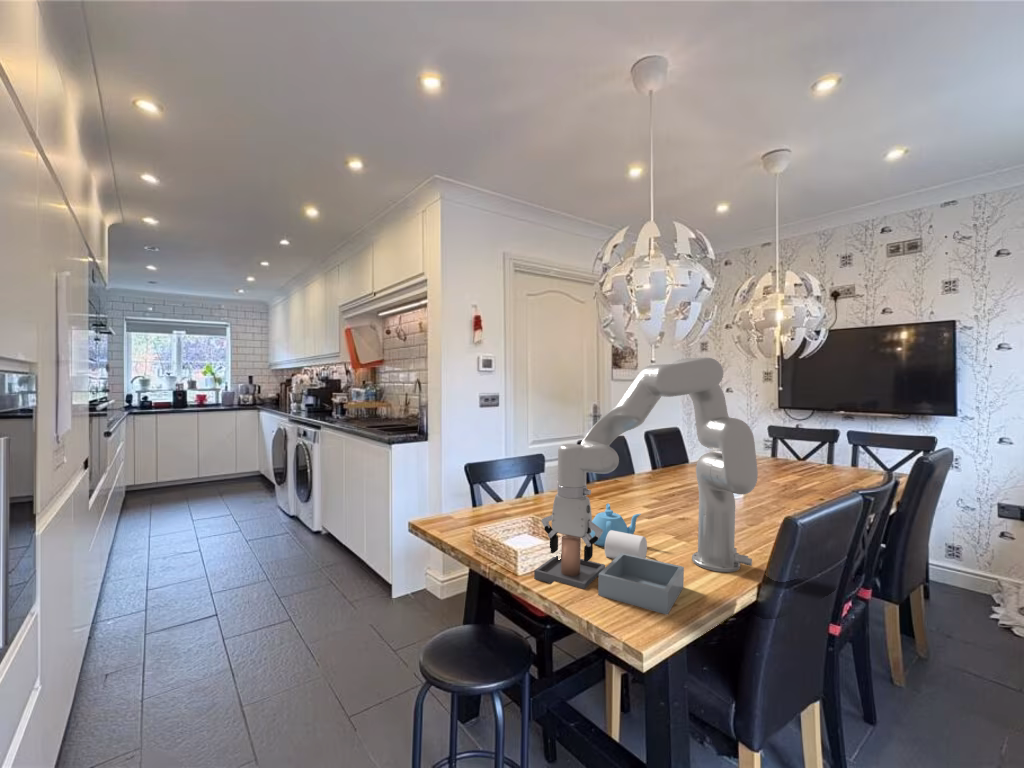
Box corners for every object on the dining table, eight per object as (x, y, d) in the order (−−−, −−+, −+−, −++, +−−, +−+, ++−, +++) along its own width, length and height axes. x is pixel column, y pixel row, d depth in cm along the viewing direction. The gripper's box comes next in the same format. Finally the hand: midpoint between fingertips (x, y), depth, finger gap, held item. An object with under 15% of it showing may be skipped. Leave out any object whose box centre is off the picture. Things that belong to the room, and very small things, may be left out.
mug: (638, 570, 125) (639, 541, 124) (604, 562, 130) (604, 534, 130) (650, 556, 135) (651, 529, 135) (618, 549, 140) (618, 523, 140)
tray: (605, 572, 122) (605, 564, 122) (584, 593, 111) (584, 584, 111) (558, 560, 130) (558, 553, 130) (534, 578, 118) (534, 570, 118)
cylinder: (583, 570, 121) (583, 537, 121) (575, 577, 117) (575, 543, 117) (566, 566, 124) (566, 533, 124) (557, 572, 119) (558, 538, 119)
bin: (683, 590, 113) (683, 566, 112) (667, 619, 99) (667, 591, 99) (620, 575, 121) (621, 552, 121) (598, 599, 108) (598, 574, 108)
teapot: (607, 554, 136) (608, 520, 136) (574, 538, 149) (575, 507, 148) (641, 545, 144) (641, 512, 144) (607, 531, 156) (607, 501, 156)
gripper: (608, 493, 119) (606, 558, 119) (549, 484, 128) (548, 544, 128) (597, 499, 112) (595, 568, 112) (536, 489, 121) (535, 553, 122)
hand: (570, 555), depth 120 cm, fingers open, 9 cm apart
